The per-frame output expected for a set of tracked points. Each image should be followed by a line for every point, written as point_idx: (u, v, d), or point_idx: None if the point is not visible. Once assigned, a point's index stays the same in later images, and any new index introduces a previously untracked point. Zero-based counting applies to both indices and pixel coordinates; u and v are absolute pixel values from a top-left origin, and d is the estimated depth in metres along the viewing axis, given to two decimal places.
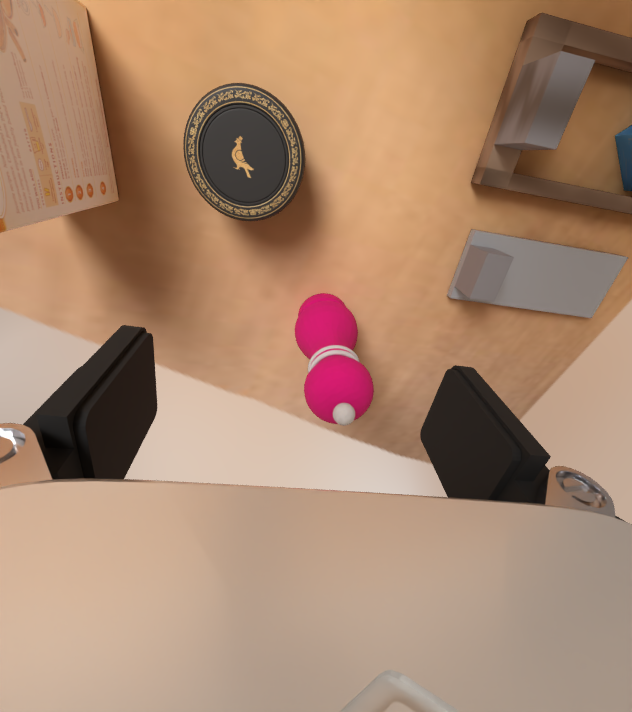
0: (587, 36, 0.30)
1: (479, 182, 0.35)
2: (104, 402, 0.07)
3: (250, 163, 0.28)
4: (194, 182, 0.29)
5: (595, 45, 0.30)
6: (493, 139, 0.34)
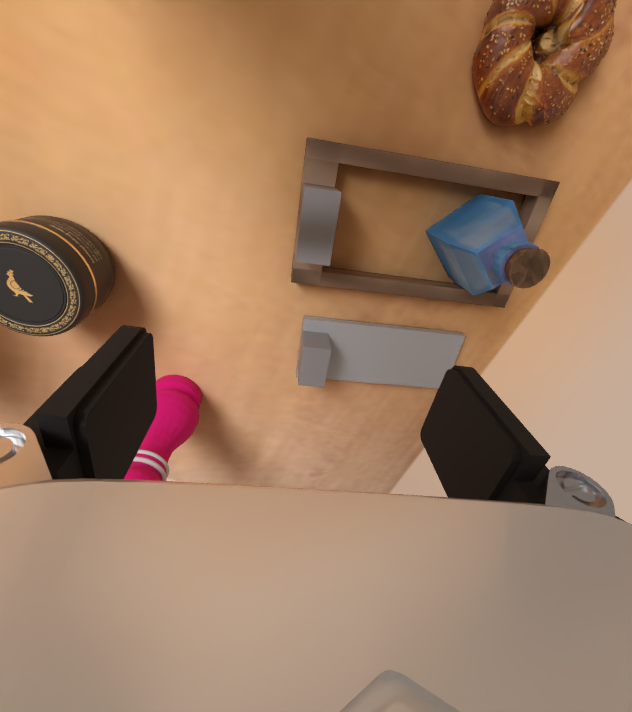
0: (360, 155, 0.31)
1: (291, 280, 0.36)
2: (104, 402, 0.07)
3: (28, 291, 0.30)
4: None
5: (370, 162, 0.31)
6: (295, 243, 0.35)
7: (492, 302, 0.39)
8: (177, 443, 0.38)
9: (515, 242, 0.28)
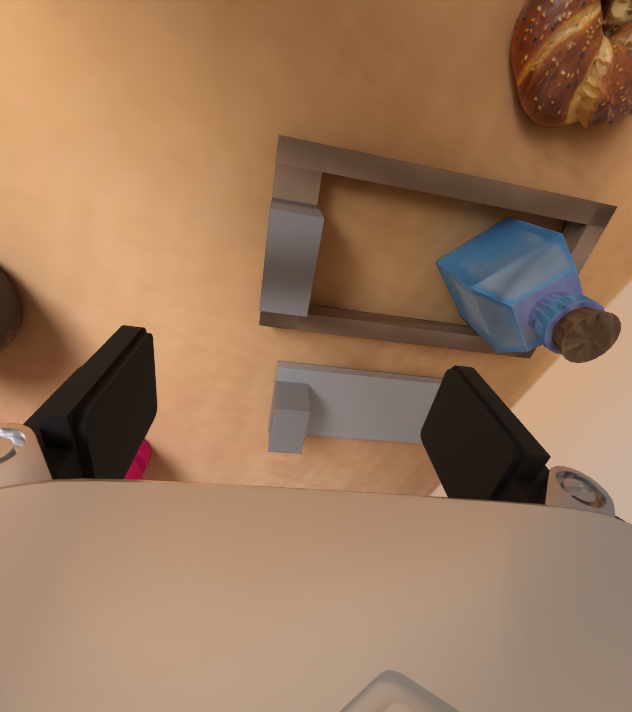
0: (352, 162, 0.22)
1: None
2: (104, 402, 0.07)
3: None
4: None
5: (366, 172, 0.22)
6: None
7: (515, 352, 0.31)
8: None
9: (569, 298, 0.20)
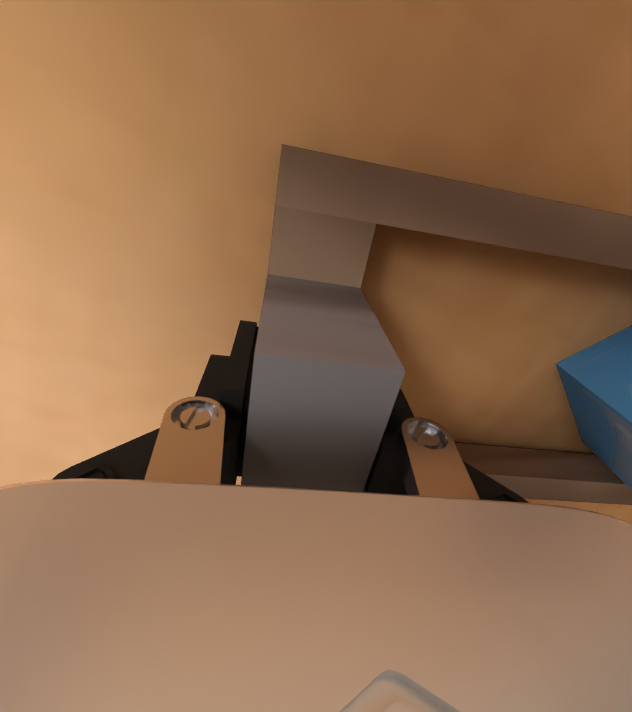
0: (443, 203, 0.10)
1: None
2: None
3: None
4: None
5: (471, 224, 0.10)
6: None
7: None
8: None
9: None
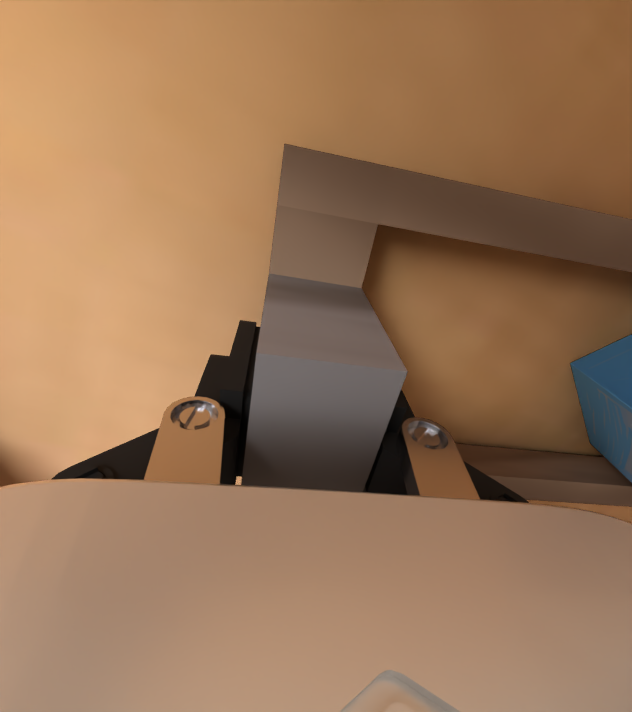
0: (445, 204, 0.10)
1: None
2: None
3: None
4: None
5: (472, 225, 0.10)
6: None
7: None
8: None
9: None
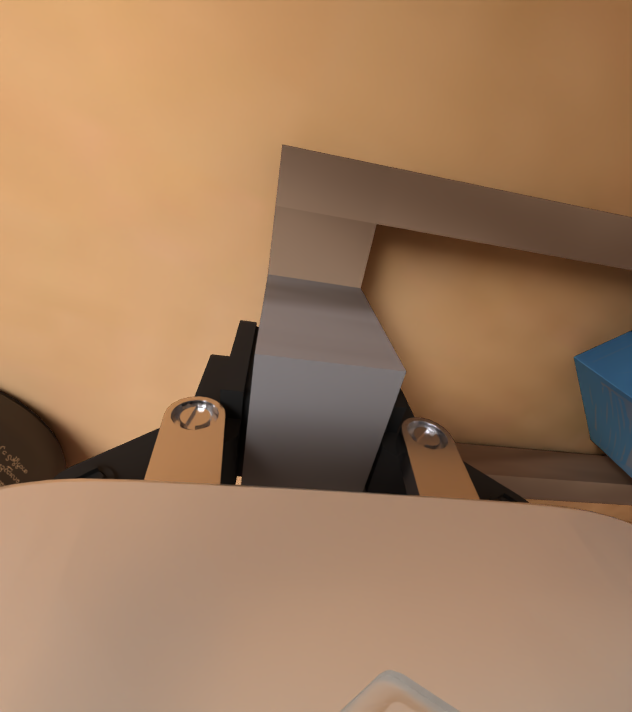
0: (443, 203, 0.10)
1: None
2: None
3: None
4: None
5: (471, 224, 0.10)
6: None
7: None
8: None
9: None
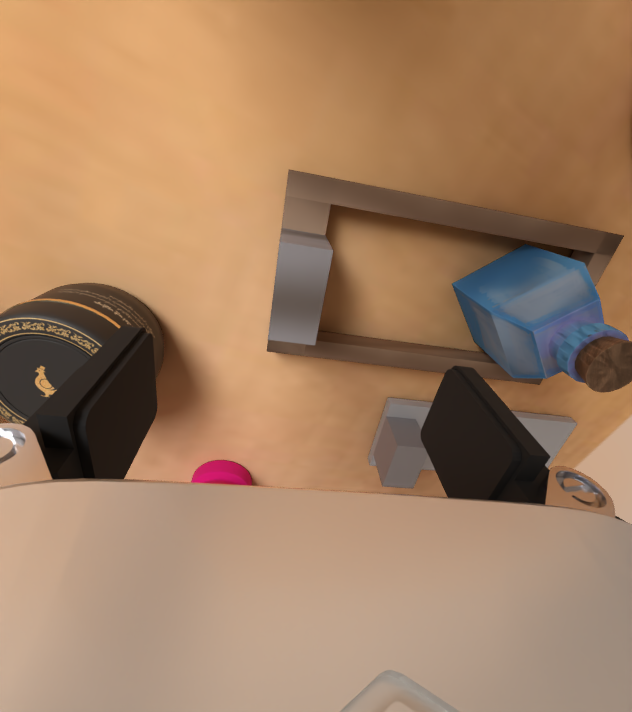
0: (360, 194, 0.23)
1: (267, 348, 0.28)
2: (103, 401, 0.07)
3: None
4: None
5: (374, 204, 0.23)
6: None
7: (525, 378, 0.31)
8: None
9: (593, 326, 0.19)
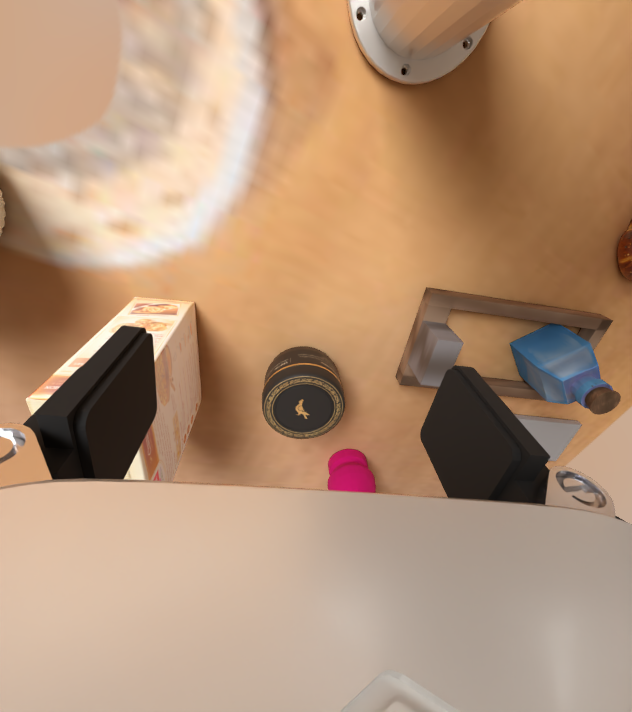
0: (468, 303, 0.41)
1: (399, 382, 0.46)
2: (104, 402, 0.07)
3: (307, 411, 0.41)
4: (268, 421, 0.41)
5: (475, 308, 0.41)
6: (407, 357, 0.45)
7: None
8: None
9: (594, 381, 0.38)
